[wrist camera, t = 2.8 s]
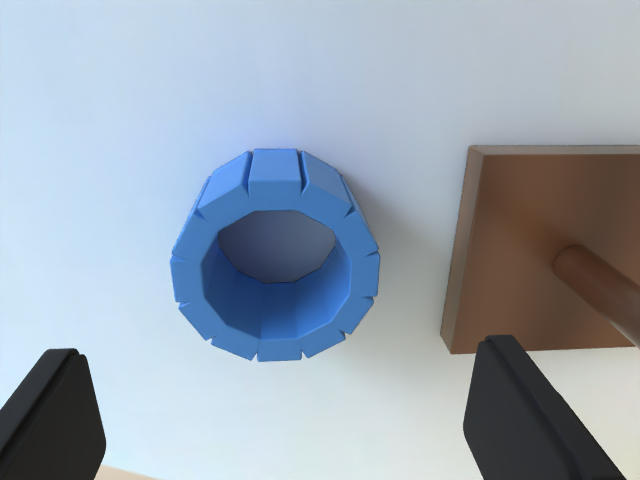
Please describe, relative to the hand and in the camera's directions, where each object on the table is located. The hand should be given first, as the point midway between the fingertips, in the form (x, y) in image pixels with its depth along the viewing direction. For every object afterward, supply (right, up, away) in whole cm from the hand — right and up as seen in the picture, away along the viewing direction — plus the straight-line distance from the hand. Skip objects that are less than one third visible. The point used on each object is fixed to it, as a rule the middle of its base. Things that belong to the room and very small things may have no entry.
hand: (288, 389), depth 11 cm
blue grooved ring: (-1, +4, +8) cm, 9 cm away
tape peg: (+11, +3, +9) cm, 15 cm away
